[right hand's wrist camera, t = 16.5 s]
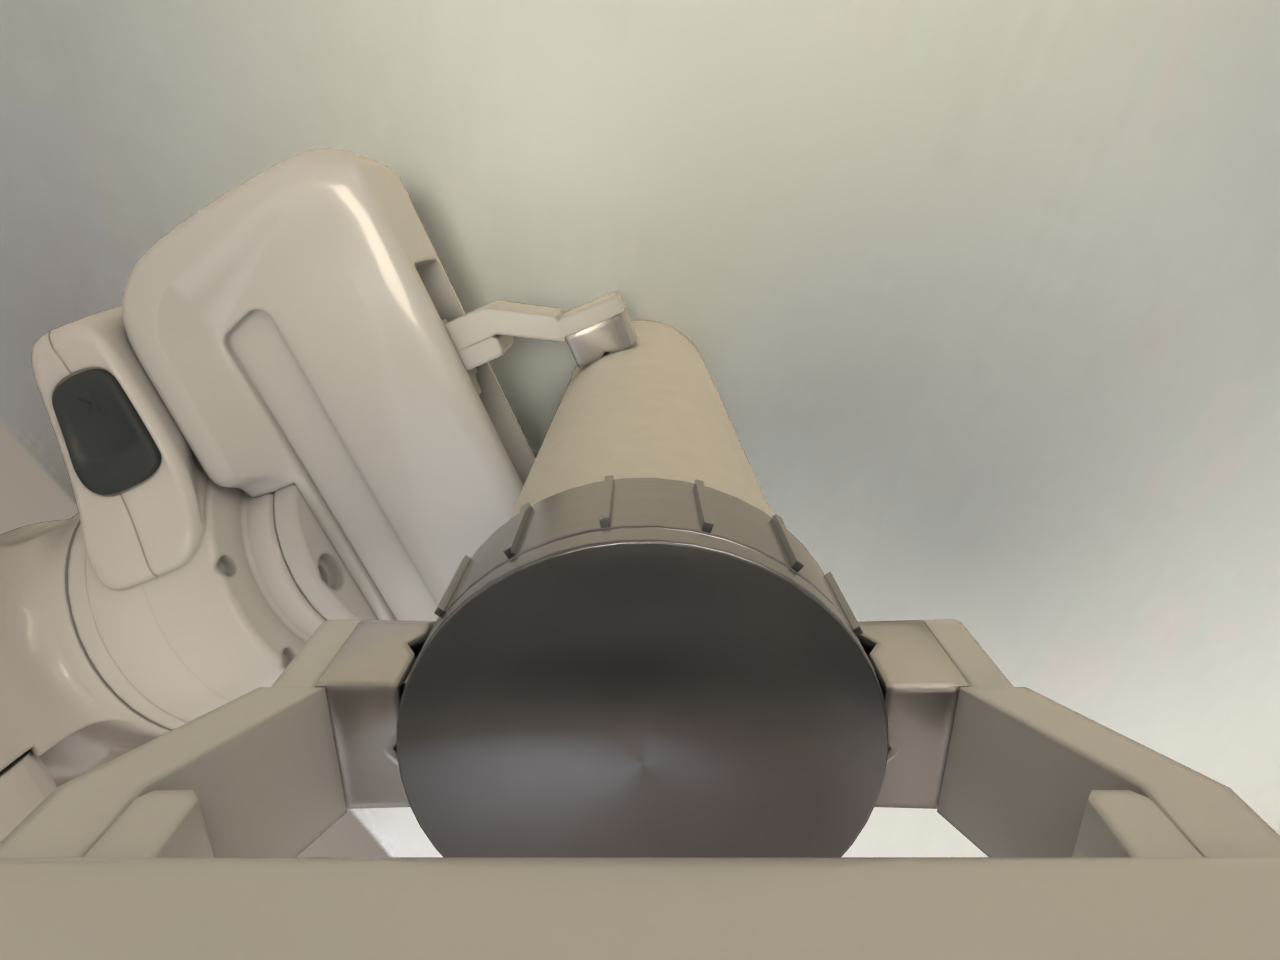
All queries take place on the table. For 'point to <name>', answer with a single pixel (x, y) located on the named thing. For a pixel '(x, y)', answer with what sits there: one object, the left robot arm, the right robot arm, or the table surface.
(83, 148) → the table surface
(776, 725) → the lid
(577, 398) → the beige tall cylinder
